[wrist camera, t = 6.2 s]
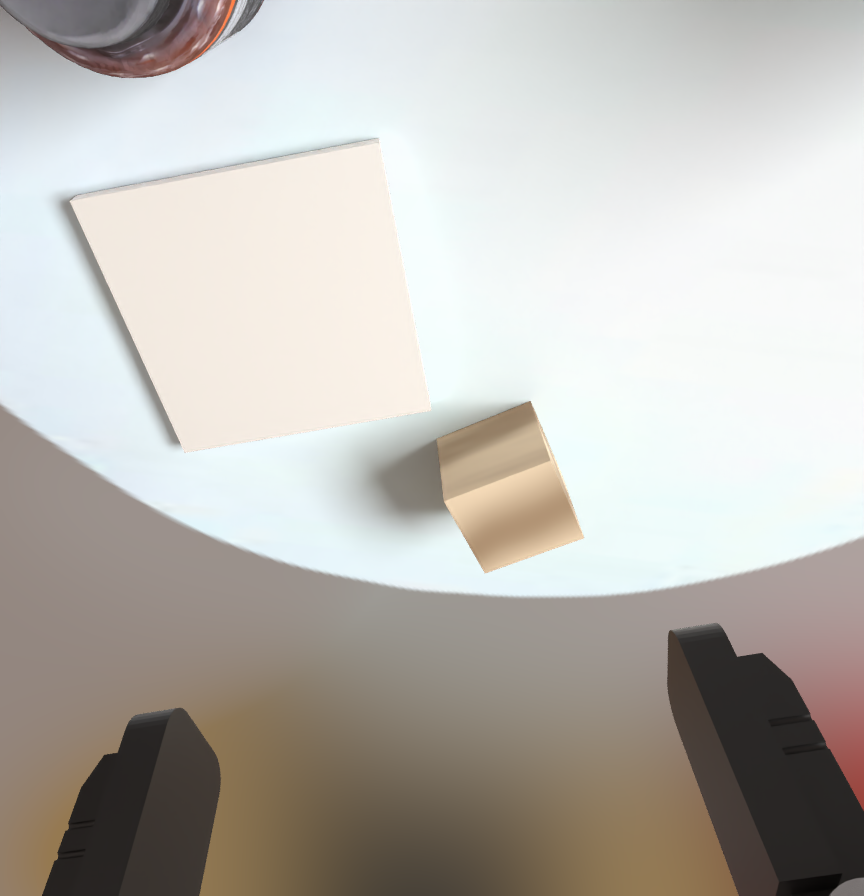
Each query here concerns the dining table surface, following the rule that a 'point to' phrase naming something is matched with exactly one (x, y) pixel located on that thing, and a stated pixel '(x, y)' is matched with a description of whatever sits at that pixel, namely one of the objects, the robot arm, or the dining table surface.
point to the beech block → (506, 489)
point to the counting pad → (264, 294)
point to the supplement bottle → (132, 30)
